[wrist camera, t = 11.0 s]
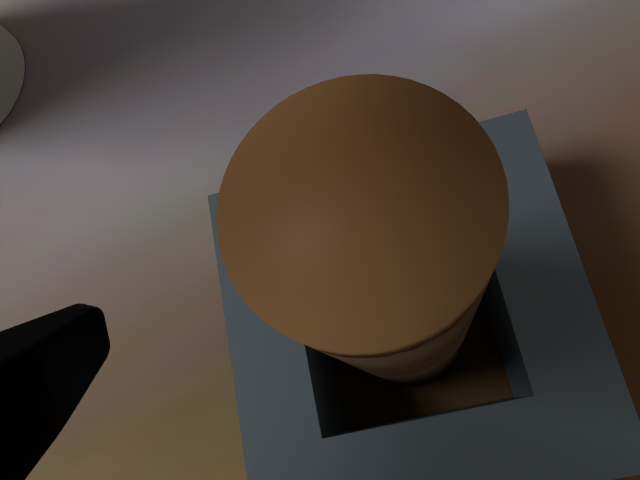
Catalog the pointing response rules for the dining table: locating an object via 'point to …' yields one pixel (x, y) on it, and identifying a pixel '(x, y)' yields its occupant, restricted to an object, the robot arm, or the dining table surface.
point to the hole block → (473, 421)
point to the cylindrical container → (10, 72)
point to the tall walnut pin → (366, 223)
